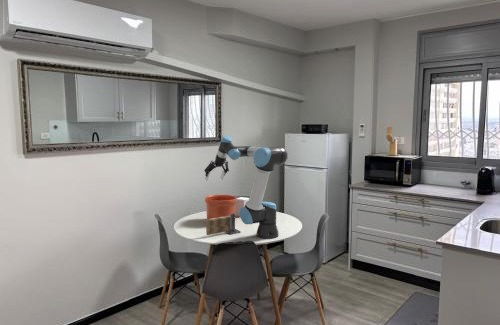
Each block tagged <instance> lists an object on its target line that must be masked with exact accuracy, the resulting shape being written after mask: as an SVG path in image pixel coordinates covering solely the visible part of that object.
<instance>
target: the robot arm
mask: <svg viewBox="0 0 500 325" xmlns="http://www.w3.org/2000/svg"><path fill="white" fill-rule="evenodd" d="M232 142H233V138H232V137H230V136H228V135H223V136H222V137H221V140H220V142H219V143H220V144H219V146H218V149H217V153H216V156H215V158H214V160H210V162H209V164H208V165H207V166H206V168H205V169H204V173H205V177H204V179H205V181H206V182H207V181H208V179H209V176H210V173H211V172H212V171H213V170H215V169H216V168H222V171H221V175H220V179H221V180H224V177H225V176H226V174H227V173H228V172H229V171H230V169H229V165H228V164H229V161H228V160H227V157H229V158H230V159H231V160H232V161H237V160H238V159H239V158H241V157H242V158H245V157H247V158H253V163H254V166H255V168H256V171H255V176H254V179H253V181H252V182H253V184H252V188H251V192H250V195H249V197H248V198H249V201H247V202H246V204H245V207H242V208H241V209H240V217H239V218H240V219H241V221H242V223H243V224H245V225H254V224H258V227H257V229H256V237H257V238H260V239H269V240H270V239H276V238H278V237H279V229H278V227H277V204H276V203H275V202H271V201H263V199H264V196H265V192H266V188H267V186H268V183H269V182H268V181H269V178H270V173H272V172H274V169H275V167H277V166H281V165H283V164H285V163H286V162H287V161H288V152H287V150H286V149H285V148H283V147H281V146H271V147H270V146H268V147H266V146H263V147H258V146H253V145H244V146H243V145H242V146H241V145H240V146H237V145H234V144H233V143H232Z"/></svg>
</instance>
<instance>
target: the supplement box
mask: <svg viewBox="0 0 500 325" xmlns="http://www.w3.org/2000/svg"><path fill="white" fill-rule="evenodd" d="M249 198H250V197H245V196H243V197H242V196H240V197H237V202H236V207H235V217H239V218H241V217H240V209H241V208H242V207H245V204H246V202H247V201H249Z"/></svg>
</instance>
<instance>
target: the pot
mask: <svg viewBox="0 0 500 325" xmlns="http://www.w3.org/2000/svg"><path fill="white" fill-rule="evenodd" d="M237 198H238V197H237V196H235V195H231V194H230V195H229V194H212V195H207V196H205V198H204V203H205V207H206V208H205V209H206V211H205V212H206V219H212V218H218V217H225V216H230V213H235V207H236V202H237Z"/></svg>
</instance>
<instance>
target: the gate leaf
mask: <svg viewBox="0 0 500 325" xmlns="http://www.w3.org/2000/svg"><path fill="white" fill-rule="evenodd" d="M230 218H231V216H225V217H218V218H212V219H207V218H206V220H205V221H206V222H205V224H206V225H205V226H206V229H205V230H206V232H205V234H206V235H207V236H210V235H217V234H221V233H226V232H227V231H230Z"/></svg>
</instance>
